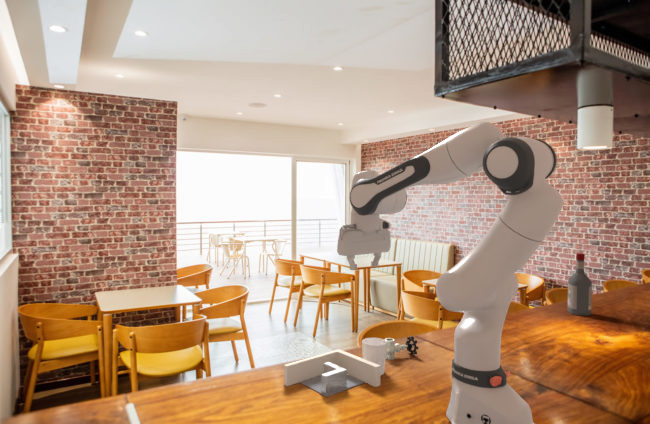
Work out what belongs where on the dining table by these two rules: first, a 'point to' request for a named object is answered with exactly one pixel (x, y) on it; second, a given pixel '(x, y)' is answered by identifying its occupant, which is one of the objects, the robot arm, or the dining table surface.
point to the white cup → (375, 351)
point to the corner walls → (348, 361)
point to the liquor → (579, 290)
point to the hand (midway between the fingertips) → (364, 268)
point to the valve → (400, 347)
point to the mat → (316, 386)
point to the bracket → (333, 378)
